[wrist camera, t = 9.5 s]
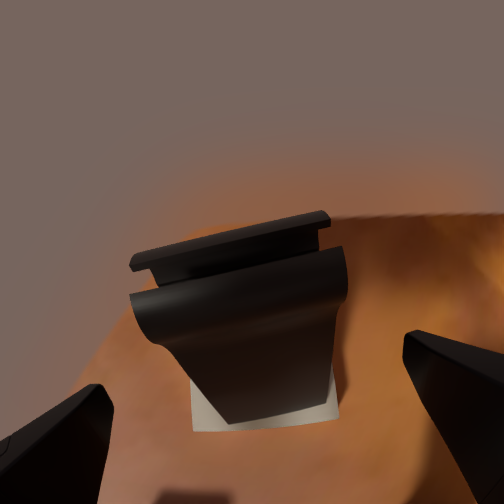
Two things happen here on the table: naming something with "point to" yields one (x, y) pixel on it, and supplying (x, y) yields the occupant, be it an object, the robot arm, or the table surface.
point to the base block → (212, 421)
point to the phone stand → (248, 314)
